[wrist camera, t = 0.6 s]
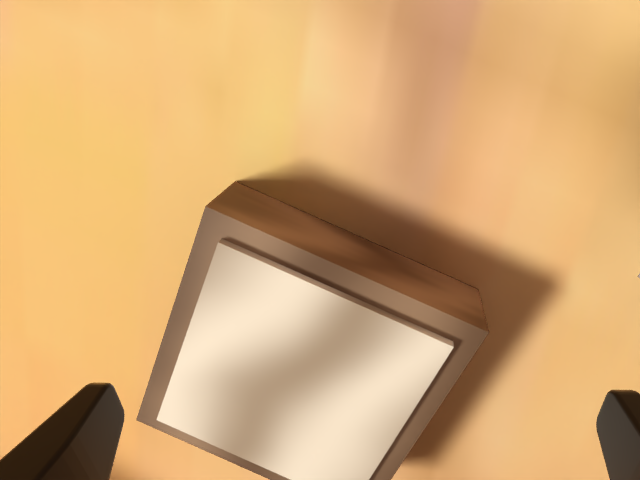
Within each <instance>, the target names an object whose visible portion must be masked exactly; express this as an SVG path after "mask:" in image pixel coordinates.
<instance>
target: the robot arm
mask: <svg viewBox="0 0 640 480" xmlns="http://www.w3.org/2000/svg"><path fill="white" fill-rule="evenodd" d="M123 423H124V409H123V407H122V404H121V402H120V400H119V398H118V395H117V393H116V391H115V388H114V387H113V385H111V384H110V383H90V384H88V385H86V386H85V387H83V388H82V389H81V390H80V391H79V392H78V393H77V394H75V395H74V396H73V397H72V398H71V399H70V400H69V401H67V402H66V403H65V404H64V405H63V406H62V407H61V408H59V409H58V410H57V411H56V412H55V413H54V414H52V415H51V416H50V417H49V418H48V419H47V420H46V421H44V422H43V423H42V424H41V425H40V426H39V427H38V428H36V429H35V430H34V431H33V432H32V433H31V434H30V435H28V436H27V437H26V438H25V439H24V440H23V441H22V442H20V443H19V444H18V445H17V446H16V447H15V448H13V449H12V450H11V451H10V452H9V453H8V454H7V455H5V456H4V457H3V458H2V459H1V460H0V480H109V478H110V474H111V470H112V466H113V462H114V458H115V454H116V450H117V447H118V443H119V439H120V435H121V431H122V427H123ZM596 427H597V433H598V437H599V440H600V444H601V448H602V452H603V455H604V459H605V463H606V467H607V471H608V474H609V478H610V480H640V394H639V393H638V392H636V391H633V390H611V391H609V392H608V393H607V395H606V397H605V400H604V402H603V405H602V407H601V409H600V412H599V414H598V417H597V422H596Z"/></svg>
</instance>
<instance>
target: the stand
mask: <svg viewBox="0 0 640 480" xmlns="http://www.w3.org/2000/svg"><path fill="white" fill-rule="evenodd" d="M488 333H489V330H488V326H487V322H486V318H485V314H484V310H483V306H482V302H481V299H480V295H479V291H478V289H476V288H474V287H472V286H469V285H467V284H465V283H463V282H460V281H458V280H456V279H454V278H451V277H449V276H447V275H445V274H442V273H440V272H438V271H436V270H433V269H431V268H429V267H427V266H424V265H422V264H420V263H418V262H415V261H413V260H411V259H409V258H406V257H404V256H402V255H400V254H397V253H395V252H393V251H391V250H389V249H386V248H384V247H382V246H380V245H377V244H375V243H373V242H371V241H368V240H366V239H364V238H362V237H359V236H357V235H355V234H353V233H350V232H348V231H346V230H344V229H341V228H339V227H337V226H335V225H332V224H330V223H328V222H326V221H323V220H321V219H319V218H317V217H314V216H312V215H310V214H308V213H305V212H303V211H301V210H299V209H296V208H294V207H292V206H290V205H287V204H285V203H283V202H281V201H278V200H276V199H274V198H272V197H269V196H267V195H265V194H263V193H260V192H258V191H256V190H254V189H251V188H249V187H247V186H245V185H242V184H240V183H238V182H236V181H235V182H234V183H233V184H231V185H230V186H229V187H228V188H227V189H226V190H224V191H223V192H222V193H221V194H220V195H218V196H217V197H216V198H215V199H214V200H212V201H211V202H210V203H209V204H208V205H207V206H206V207H205V210H204V213H203V216H202V219H201V222H200V225H199V228H198V231H197V234H196V237H195V241H194V244H193V247H192V250H191V253H190V256H189V259H188V262H187V265H186V268H185V271H184V274H183V278H182V281H181V284H180V287H179V290H178V293H177V296H176V299H175V302H174V305H173V308H172V312H171V315H170V318H169V321H168V324H167V327H166V330H165V333H164V336H163V339H162V342H161V345H160V349H159V352H158V355H157V358H156V361H155V364H154V367H153V370H152V373H151V376H150V379H149V383H148V386H147V389H146V392H145V395H144V398H143V401H142V404H141V407H140V410H139V413H138V416H137V421H140V422H142V423H144V424H146V425H149V426H151V427H153V428H155V429H158V430H160V431H162V432H164V433H167V434H169V435H171V436H173V437H176V438H178V439H180V440H182V441H185V442H187V443H189V444H191V445H193V446H196V447H198V448H200V449H202V450H205V451H207V452H209V453H211V454H214V455H216V456H218V457H220V458H223V459H225V460H227V461H229V462H232V463H234V464H236V465H238V466H241V467H243V468H245V469H247V470H250V471H252V472H254V473H256V474H259V475H261V476H263V477H265V478H268V479H270V480H391V479H392V477H393V476H394V474H395V473H396V471H397V470H398V468H399V467H400V465H401V464H402V462H403V461H404V459H405V458H406V456H407V455H408V453H409V452H410V450H411V449H412V447H413V446H414V444H415V443H416V441H417V440H418V438H419V437H420V435H421V434H422V432H423V431H424V429H425V428H426V426H427V425H428V423H429V422H430V420H431V419H432V417H433V416H434V414H435V413H436V411H437V410H438V408H439V407H440V405H441V404H442V402H443V401H444V399H445V398H446V396H447V395H448V393H449V392H450V390H451V389H452V387H453V386H454V384H455V383H456V381H457V380H458V378H459V377H460V375H461V374H462V372H463V371H464V369H465V368H466V366H467V365H468V363H469V362H470V360H471V359H472V357H473V356H474V354H475V353H476V351H477V350H478V348H479V347H480V345H481V344H482V342H483V341H484V339H485V338H486V336H487V335H488Z"/></svg>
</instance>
